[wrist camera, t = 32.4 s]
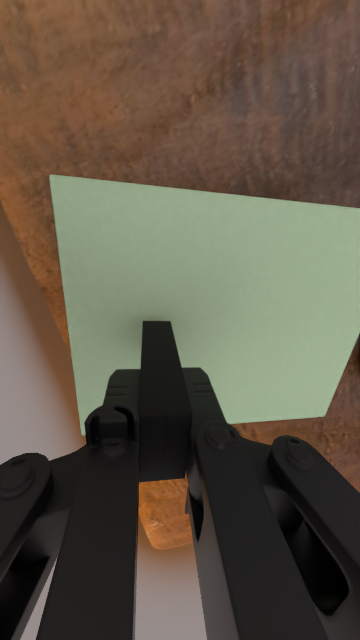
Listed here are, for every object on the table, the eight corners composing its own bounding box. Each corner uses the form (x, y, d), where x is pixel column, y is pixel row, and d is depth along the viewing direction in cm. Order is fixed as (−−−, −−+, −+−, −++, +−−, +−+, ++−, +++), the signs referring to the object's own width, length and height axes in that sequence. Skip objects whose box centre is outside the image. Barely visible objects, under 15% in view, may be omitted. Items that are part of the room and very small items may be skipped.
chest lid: (83, 426, 16) (81, 435, 16) (54, 176, 11) (48, 173, 10) (318, 409, 20) (325, 416, 19) (396, 214, 14) (410, 213, 13)
